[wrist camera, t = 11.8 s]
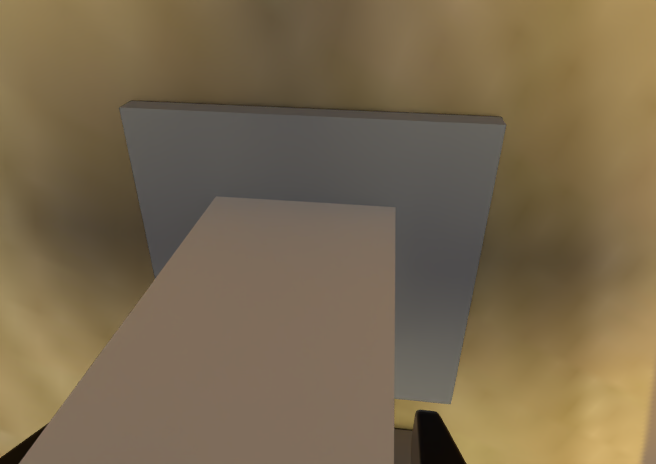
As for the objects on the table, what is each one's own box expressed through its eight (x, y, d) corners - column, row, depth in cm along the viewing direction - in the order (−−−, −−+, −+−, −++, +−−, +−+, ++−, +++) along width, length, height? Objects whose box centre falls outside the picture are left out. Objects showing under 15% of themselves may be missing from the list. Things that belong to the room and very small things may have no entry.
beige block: (383, 345, 14) (364, 905, 6) (232, 332, 15) (17, 832, 6) (395, 207, 12) (392, 801, 4) (215, 196, 13) (-157, 700, 4)
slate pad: (449, 389, 16) (450, 404, 15) (182, 363, 17) (175, 375, 16) (501, 116, 11) (506, 125, 11) (131, 100, 12) (119, 107, 12)
